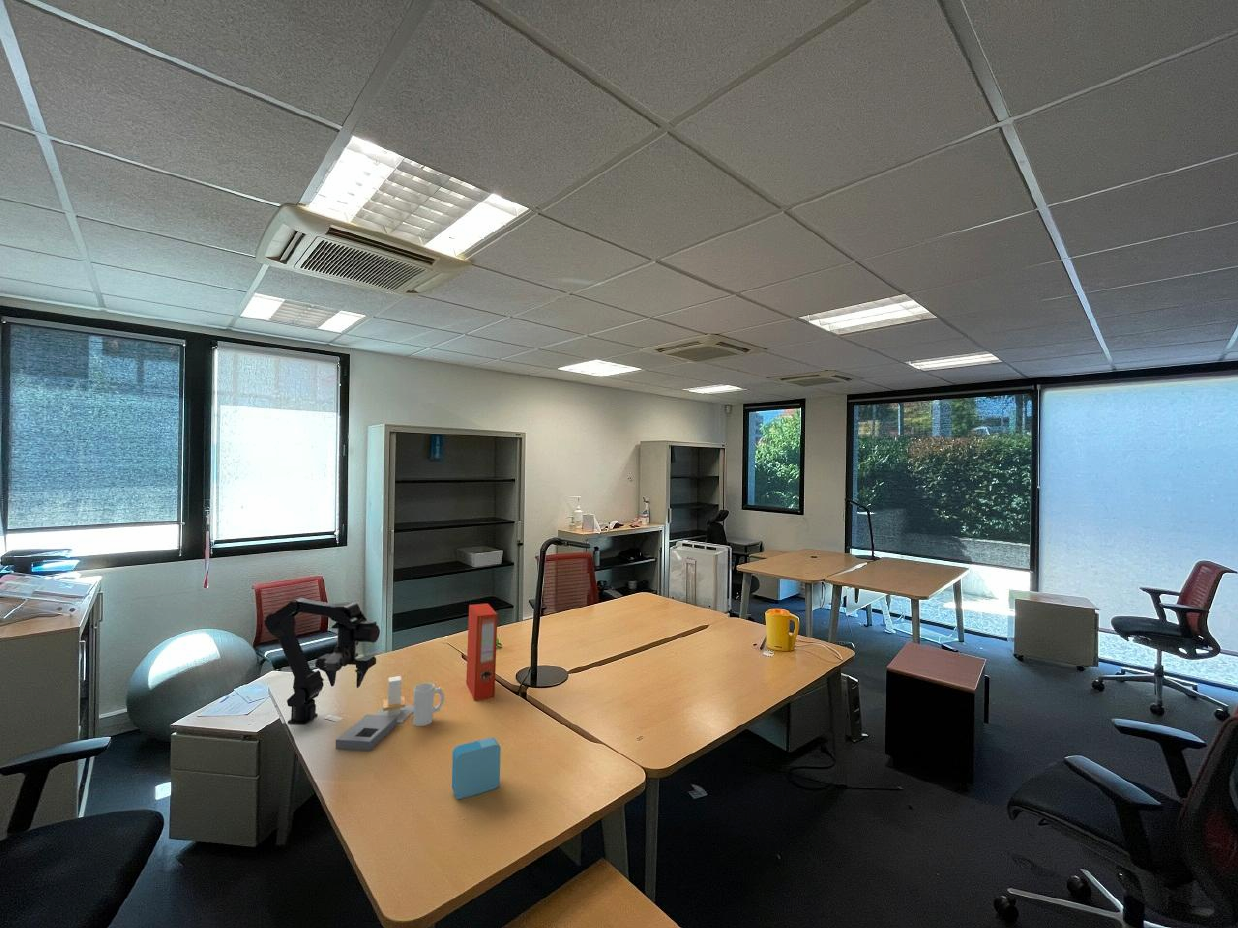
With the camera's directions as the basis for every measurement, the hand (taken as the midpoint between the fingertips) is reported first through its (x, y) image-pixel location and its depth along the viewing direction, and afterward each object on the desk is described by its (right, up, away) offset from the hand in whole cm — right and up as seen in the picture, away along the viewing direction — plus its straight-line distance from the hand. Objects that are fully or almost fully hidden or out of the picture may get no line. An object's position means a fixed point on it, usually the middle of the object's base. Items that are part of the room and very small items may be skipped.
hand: (345, 686), depth 168 cm
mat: (+14, -12, +6) cm, 20 cm away
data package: (+55, -12, -35) cm, 66 cm away
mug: (+28, -13, +1) cm, 31 cm away
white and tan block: (+14, -12, +5) cm, 19 cm away
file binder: (+39, -14, +27) cm, 49 cm away
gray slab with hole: (+13, -12, -9) cm, 20 cm away
